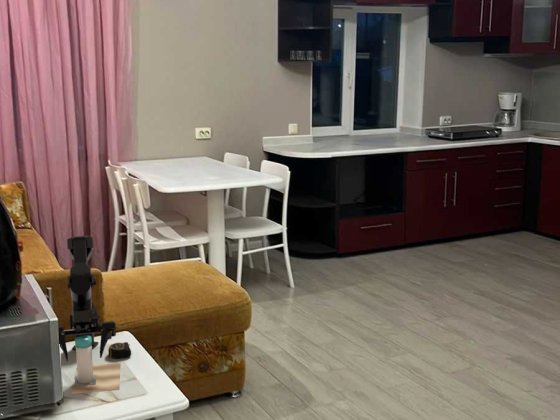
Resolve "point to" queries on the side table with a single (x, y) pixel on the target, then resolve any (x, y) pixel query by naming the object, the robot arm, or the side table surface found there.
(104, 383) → the board
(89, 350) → the ball
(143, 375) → the side table surface
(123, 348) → the tape measure
